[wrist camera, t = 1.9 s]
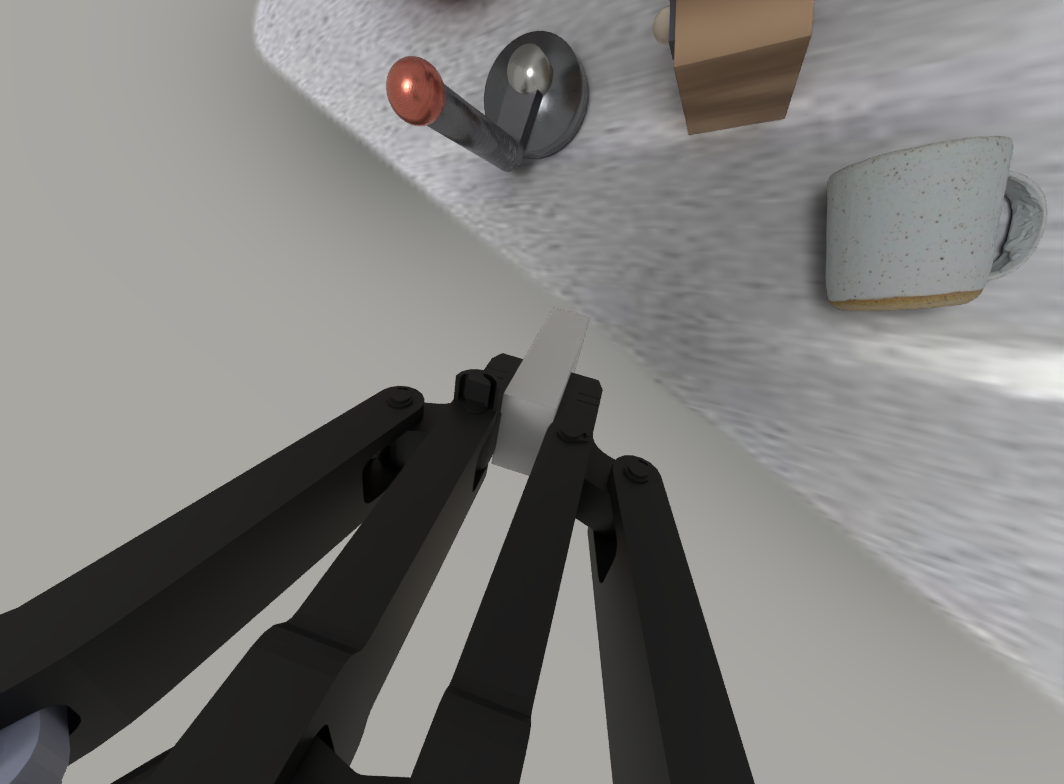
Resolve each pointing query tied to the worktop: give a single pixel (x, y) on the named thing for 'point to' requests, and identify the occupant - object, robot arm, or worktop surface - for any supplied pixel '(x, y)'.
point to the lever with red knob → (500, 101)
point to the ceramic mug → (927, 225)
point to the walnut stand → (735, 57)
